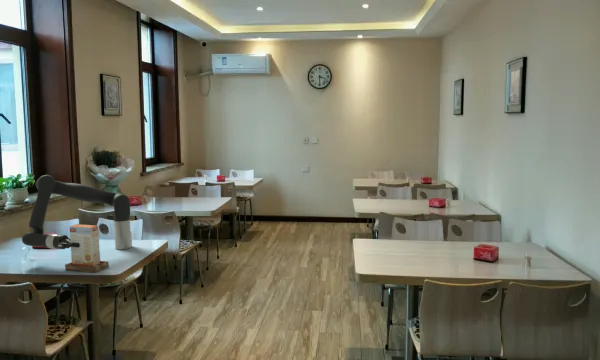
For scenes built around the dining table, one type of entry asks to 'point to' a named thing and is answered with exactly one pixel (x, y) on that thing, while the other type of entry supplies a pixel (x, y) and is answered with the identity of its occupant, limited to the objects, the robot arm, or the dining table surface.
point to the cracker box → (85, 245)
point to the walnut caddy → (87, 267)
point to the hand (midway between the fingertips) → (83, 243)
